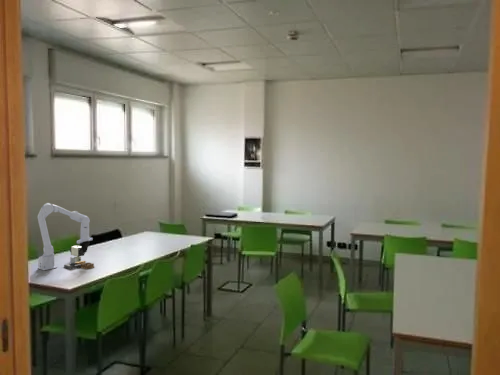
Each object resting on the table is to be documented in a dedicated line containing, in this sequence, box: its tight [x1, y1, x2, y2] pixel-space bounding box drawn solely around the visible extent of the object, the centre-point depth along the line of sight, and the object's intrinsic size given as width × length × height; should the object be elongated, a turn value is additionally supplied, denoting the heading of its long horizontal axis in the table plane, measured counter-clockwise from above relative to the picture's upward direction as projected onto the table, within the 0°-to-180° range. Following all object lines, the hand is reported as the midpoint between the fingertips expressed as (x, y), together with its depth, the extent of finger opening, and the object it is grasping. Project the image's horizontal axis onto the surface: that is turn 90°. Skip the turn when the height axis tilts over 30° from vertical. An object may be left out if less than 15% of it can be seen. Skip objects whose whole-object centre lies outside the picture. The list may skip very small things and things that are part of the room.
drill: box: [69, 256, 76, 266], centre depth 293 cm, size 3×3×7 cm
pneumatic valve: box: [69, 244, 86, 262], centre depth 311 cm, size 6×12×12 cm, turn 59°
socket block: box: [63, 263, 82, 270], centre depth 293 cm, size 8×8×2 cm
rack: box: [81, 262, 95, 270], centre depth 294 cm, size 6×6×3 cm
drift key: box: [75, 260, 87, 265], centre depth 298 cm, size 7×2×3 cm, turn 144°
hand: (84, 252), depth 300 cm, fingers closed
